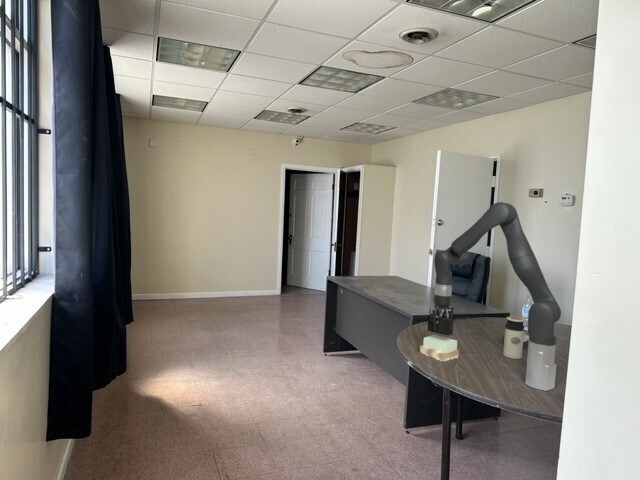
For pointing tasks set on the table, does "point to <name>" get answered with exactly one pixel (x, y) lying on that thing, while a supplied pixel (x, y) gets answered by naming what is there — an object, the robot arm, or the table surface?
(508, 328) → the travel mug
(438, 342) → the block top
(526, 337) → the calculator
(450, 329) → the digital camera
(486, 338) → the table surface
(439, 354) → the block bottom
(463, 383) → the table surface
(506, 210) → the robot arm
